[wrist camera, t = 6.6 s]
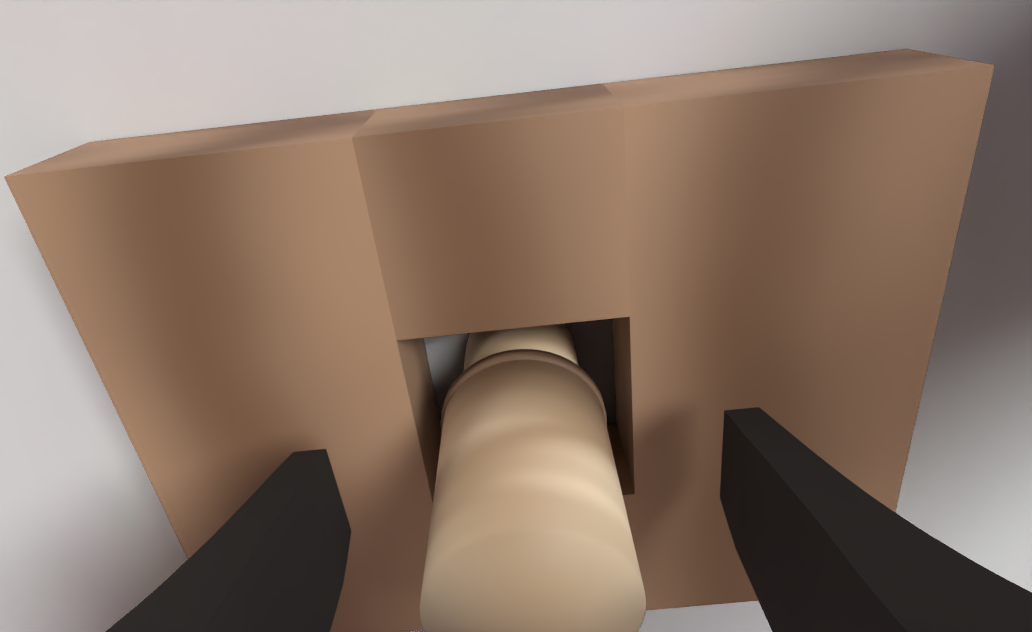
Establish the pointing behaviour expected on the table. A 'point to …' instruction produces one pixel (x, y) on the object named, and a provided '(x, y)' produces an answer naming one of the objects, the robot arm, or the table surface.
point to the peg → (528, 497)
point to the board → (523, 288)
